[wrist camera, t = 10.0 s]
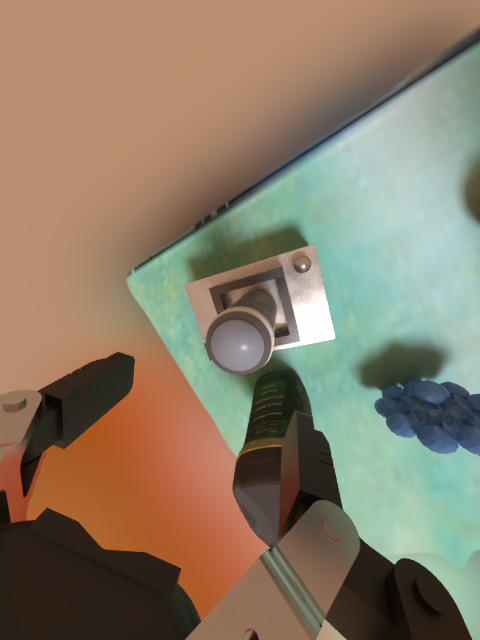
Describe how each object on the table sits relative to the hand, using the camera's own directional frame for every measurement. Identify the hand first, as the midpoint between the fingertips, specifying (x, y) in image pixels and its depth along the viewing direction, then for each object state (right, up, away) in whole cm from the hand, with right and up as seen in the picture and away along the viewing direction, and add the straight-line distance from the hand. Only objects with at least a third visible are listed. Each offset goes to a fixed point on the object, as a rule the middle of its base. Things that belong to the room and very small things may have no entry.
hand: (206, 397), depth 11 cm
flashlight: (+4, +5, +17) cm, 18 cm away
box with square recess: (+5, +6, +22) cm, 24 cm away
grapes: (+25, -5, +21) cm, 33 cm away
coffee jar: (+9, -9, +26) cm, 29 cm away
